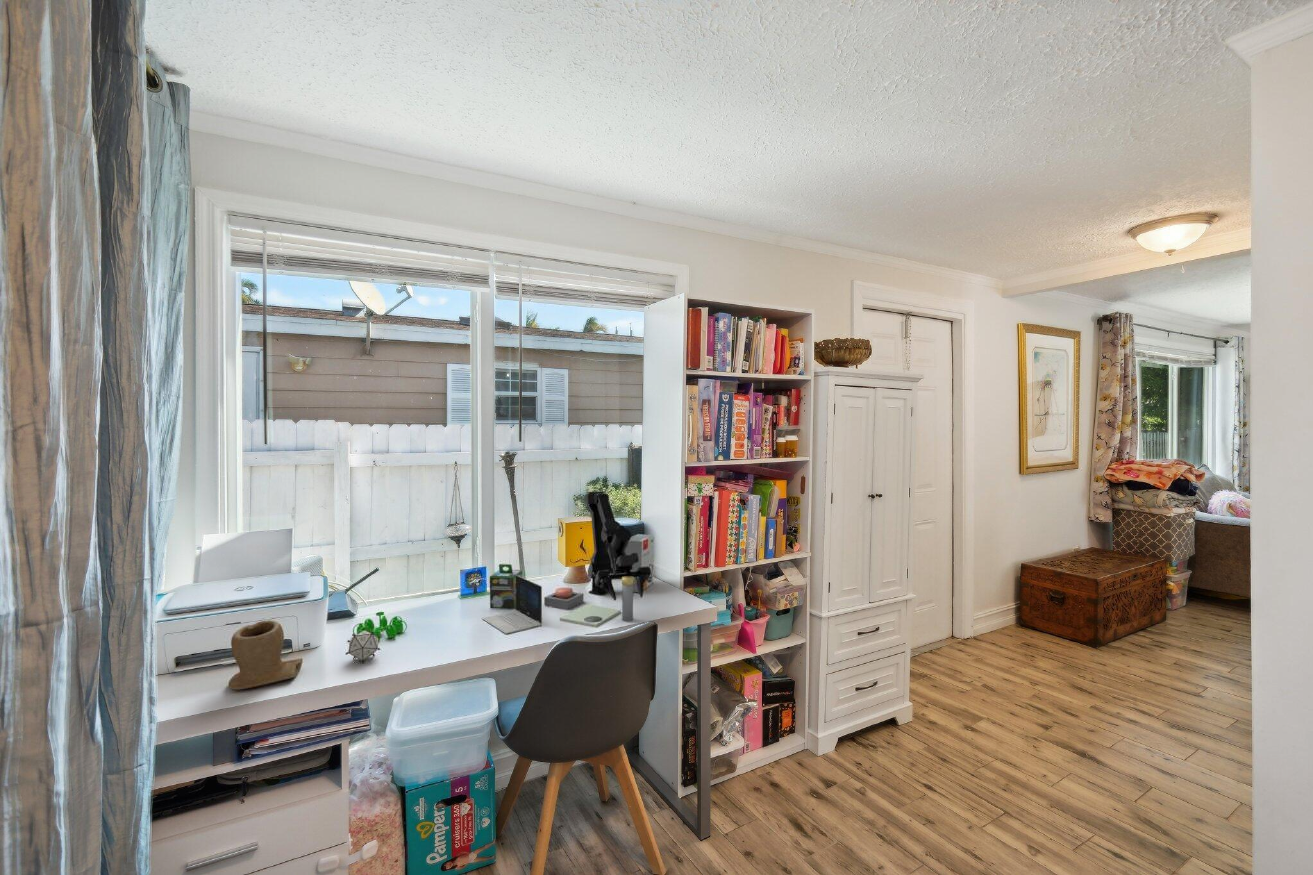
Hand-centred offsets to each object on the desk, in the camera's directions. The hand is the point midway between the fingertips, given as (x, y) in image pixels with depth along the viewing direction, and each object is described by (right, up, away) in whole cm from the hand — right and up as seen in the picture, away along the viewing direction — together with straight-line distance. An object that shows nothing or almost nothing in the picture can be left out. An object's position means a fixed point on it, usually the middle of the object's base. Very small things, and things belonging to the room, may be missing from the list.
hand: (628, 598), depth 186 cm
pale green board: (-13, -7, +4) cm, 15 cm away
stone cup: (-88, -8, -46) cm, 99 cm away
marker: (0, -7, +1) cm, 7 cm away
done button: (-24, -4, +17) cm, 30 cm away
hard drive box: (+2, -7, +39) cm, 40 cm away
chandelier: (-75, -8, -14) cm, 77 cm away
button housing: (-24, -7, +17) cm, 31 cm away
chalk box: (-45, -7, +16) cm, 48 cm away
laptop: (-38, -8, -2) cm, 39 cm away
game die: (-71, -8, -32) cm, 78 cm away
